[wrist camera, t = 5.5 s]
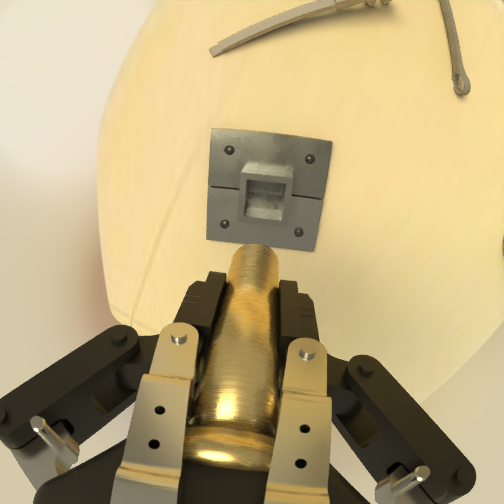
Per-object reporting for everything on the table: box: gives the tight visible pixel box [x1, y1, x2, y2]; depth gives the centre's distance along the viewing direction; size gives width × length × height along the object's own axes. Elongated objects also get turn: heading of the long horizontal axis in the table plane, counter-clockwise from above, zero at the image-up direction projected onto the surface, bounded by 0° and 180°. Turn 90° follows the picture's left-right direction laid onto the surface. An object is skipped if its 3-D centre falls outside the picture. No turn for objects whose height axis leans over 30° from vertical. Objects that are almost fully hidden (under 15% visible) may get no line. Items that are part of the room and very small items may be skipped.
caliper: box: [209, 0, 391, 57], centre depth 18 cm, size 20×1×6 cm, turn 115°
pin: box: [184, 243, 279, 472], centre depth 10 cm, size 3×3×11 cm
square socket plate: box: [206, 128, 332, 252], centre depth 28 cm, size 12×12×4 cm
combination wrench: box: [440, 0, 471, 95], centre depth 16 cm, size 4×1×20 cm
